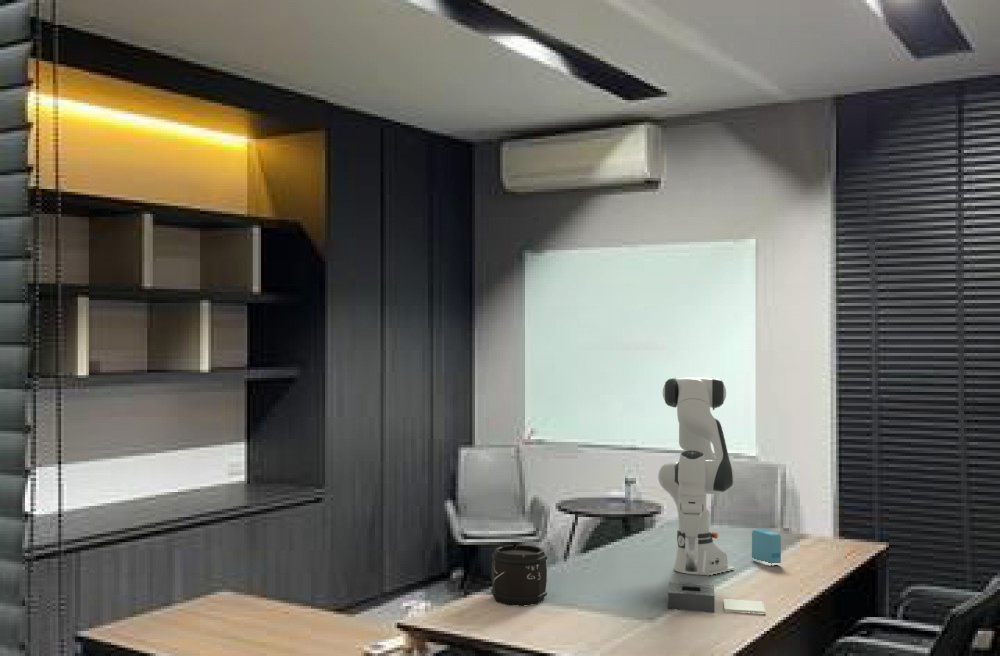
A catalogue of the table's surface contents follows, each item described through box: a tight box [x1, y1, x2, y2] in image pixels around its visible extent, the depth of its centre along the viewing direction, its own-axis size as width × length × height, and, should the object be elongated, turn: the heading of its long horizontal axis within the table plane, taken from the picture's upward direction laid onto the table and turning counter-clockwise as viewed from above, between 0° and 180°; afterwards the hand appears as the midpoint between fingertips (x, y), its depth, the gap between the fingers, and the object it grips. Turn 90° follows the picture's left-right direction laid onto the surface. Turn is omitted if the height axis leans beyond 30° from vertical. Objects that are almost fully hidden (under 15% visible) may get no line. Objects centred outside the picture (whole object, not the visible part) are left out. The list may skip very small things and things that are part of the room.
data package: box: [751, 528, 782, 564], centre depth 352 cm, size 12×4×12 cm, turn 21°
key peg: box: [685, 538, 698, 572], centre depth 292 cm, size 4×4×10 cm
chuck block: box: [667, 581, 716, 613], centre depth 291 cm, size 14×14×5 cm
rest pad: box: [723, 598, 766, 614], centre depth 288 cm, size 12×12×1 cm
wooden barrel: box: [490, 544, 548, 607], centre depth 295 cm, size 18×18×16 cm
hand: (691, 547), depth 292 cm, fingers closed on key peg, 4 cm apart
